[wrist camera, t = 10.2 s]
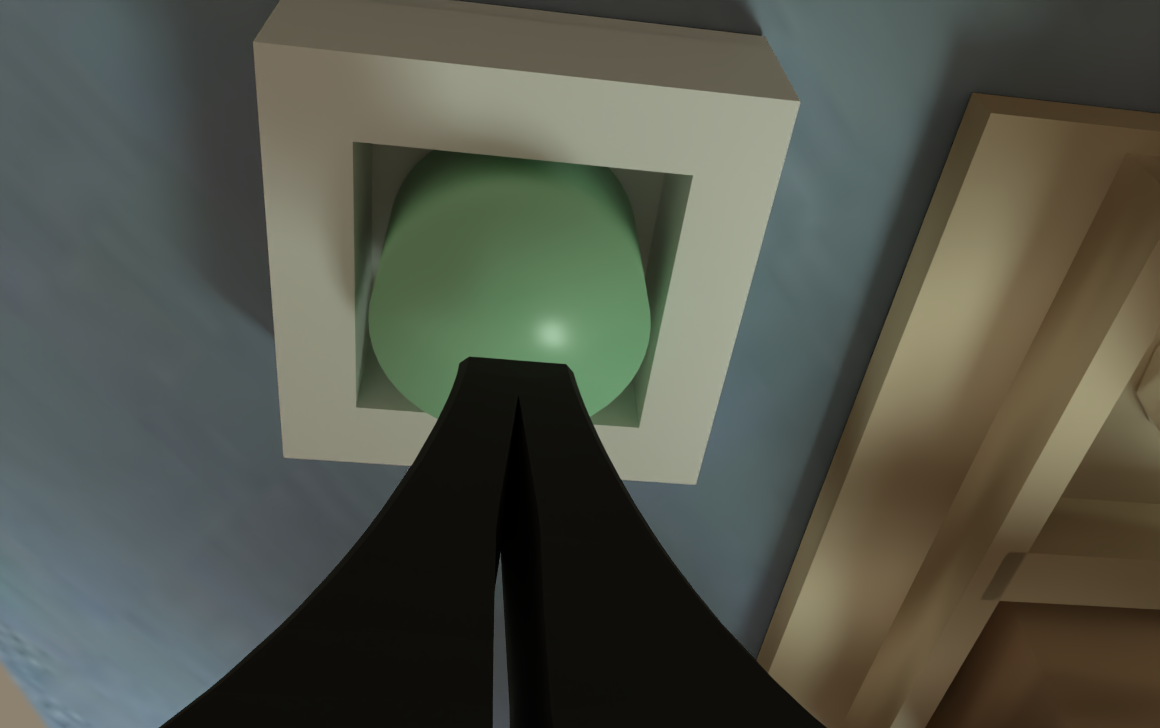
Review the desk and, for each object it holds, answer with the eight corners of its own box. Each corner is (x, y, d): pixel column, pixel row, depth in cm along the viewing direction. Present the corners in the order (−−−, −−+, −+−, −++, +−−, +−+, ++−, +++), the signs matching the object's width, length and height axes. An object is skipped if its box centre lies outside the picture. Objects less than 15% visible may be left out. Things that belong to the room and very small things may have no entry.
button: (616, 349, 17) (627, 445, 15) (388, 330, 17) (368, 426, 15) (655, 139, 15) (674, 219, 13) (390, 112, 15) (368, 191, 13)
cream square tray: (679, 393, 19) (696, 484, 17) (310, 366, 18) (283, 457, 16) (764, 37, 15) (800, 101, 13) (292, -19, 14) (252, 41, 12)
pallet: (1195, 733, 27) (1245, 818, 25) (735, 714, 26) (751, 802, 24) (1689, 172, 17) (1835, 244, 15) (971, 92, 16) (1033, 160, 14)
